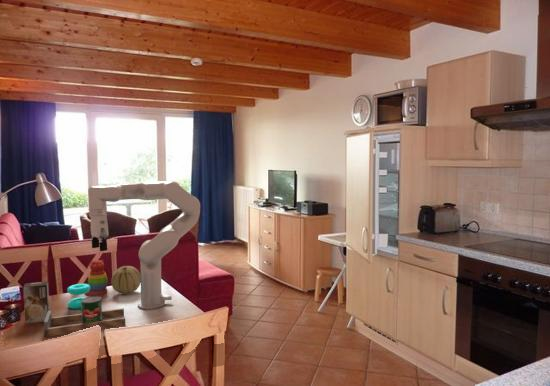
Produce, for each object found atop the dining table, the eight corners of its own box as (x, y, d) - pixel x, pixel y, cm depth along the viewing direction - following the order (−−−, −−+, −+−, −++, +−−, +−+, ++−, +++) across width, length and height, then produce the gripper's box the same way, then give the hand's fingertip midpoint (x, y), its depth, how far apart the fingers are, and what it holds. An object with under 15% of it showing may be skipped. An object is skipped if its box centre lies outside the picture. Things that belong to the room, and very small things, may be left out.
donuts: (69, 283, 198) (91, 282, 201) (69, 304, 199) (92, 301, 202) (65, 289, 189) (88, 287, 192) (66, 310, 189) (89, 308, 192)
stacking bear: (102, 289, 223) (102, 257, 221) (112, 292, 216) (111, 259, 215) (83, 293, 214) (82, 260, 213) (92, 298, 208) (91, 263, 207)
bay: (123, 314, 184) (123, 301, 184) (125, 325, 172) (125, 311, 172) (48, 324, 173) (48, 310, 172) (44, 337, 160) (44, 322, 160)
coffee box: (50, 315, 183) (49, 280, 182) (48, 320, 177) (47, 284, 176) (26, 318, 179) (25, 283, 178) (24, 324, 173) (22, 287, 172)
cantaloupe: (138, 287, 225) (137, 261, 224) (144, 295, 213) (143, 266, 212) (109, 291, 218) (108, 264, 217) (114, 299, 205) (113, 270, 204)
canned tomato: (86, 329, 168) (86, 303, 167) (78, 324, 173) (77, 299, 172) (105, 324, 173) (104, 298, 173) (97, 319, 179) (96, 295, 178)
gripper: (113, 213, 185) (114, 250, 186) (99, 210, 197) (100, 245, 199) (96, 215, 180) (98, 253, 181) (83, 212, 192) (84, 247, 194)
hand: (99, 249), depth 190 cm, fingers open, 9 cm apart
